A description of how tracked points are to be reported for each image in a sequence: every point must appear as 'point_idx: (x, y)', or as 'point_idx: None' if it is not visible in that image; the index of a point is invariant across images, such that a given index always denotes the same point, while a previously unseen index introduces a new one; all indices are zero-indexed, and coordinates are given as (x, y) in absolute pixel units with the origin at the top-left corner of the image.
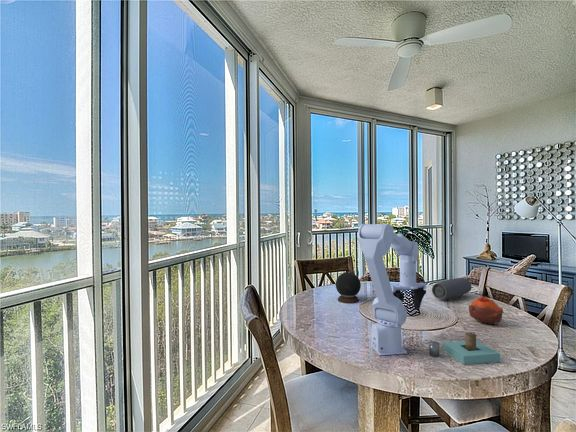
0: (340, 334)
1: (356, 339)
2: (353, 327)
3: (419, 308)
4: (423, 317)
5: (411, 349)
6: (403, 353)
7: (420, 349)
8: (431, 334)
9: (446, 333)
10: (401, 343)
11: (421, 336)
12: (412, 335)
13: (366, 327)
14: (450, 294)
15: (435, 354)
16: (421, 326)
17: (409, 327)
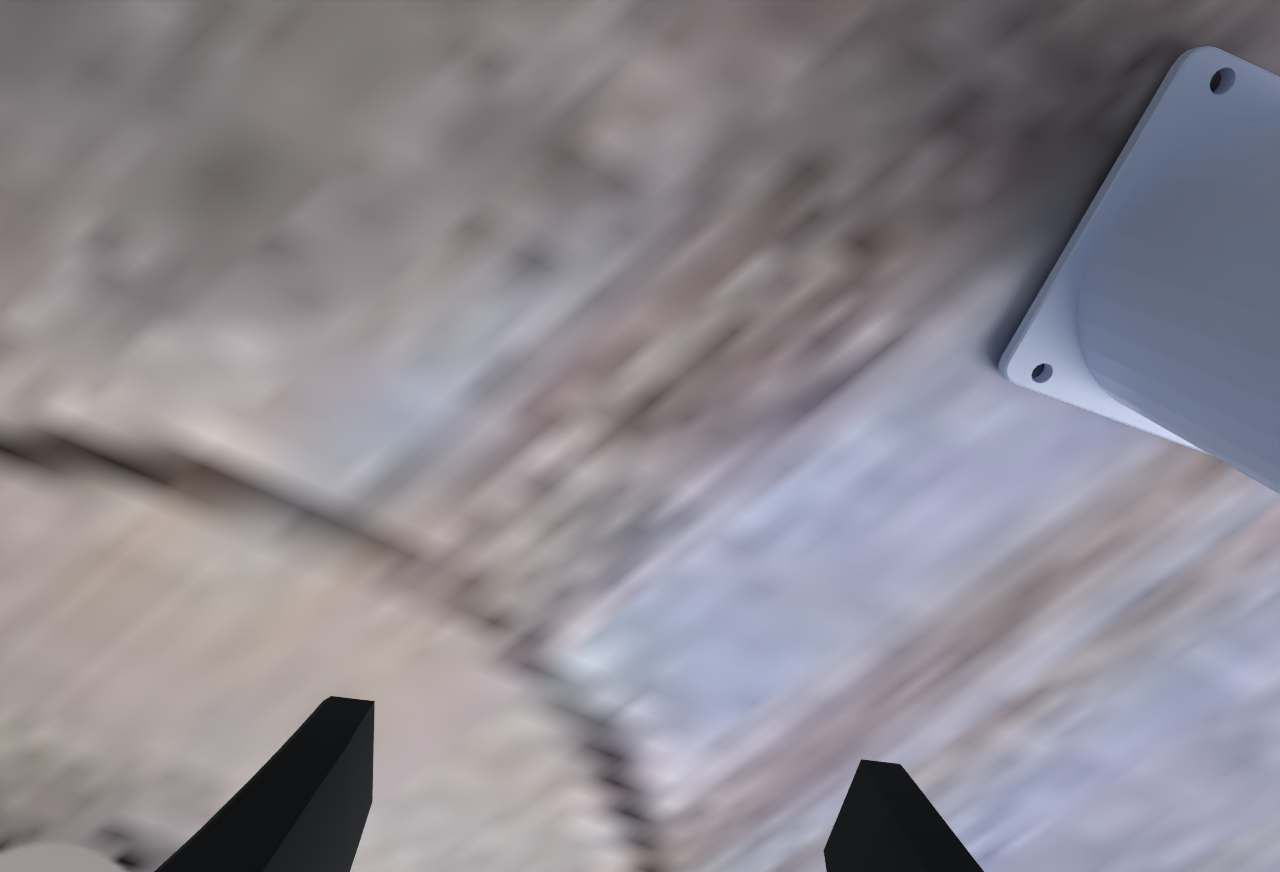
0: (1231, 802)
1: (1229, 658)
2: None
3: (335, 702)
4: (12, 770)
5: (986, 135)
6: (1243, 64)
7: (881, 64)
8: (308, 365)
9: (61, 287)
10: (1266, 151)
11: (494, 382)
12: (578, 459)
13: None
14: None
15: None
16: (242, 601)
17: (415, 641)
